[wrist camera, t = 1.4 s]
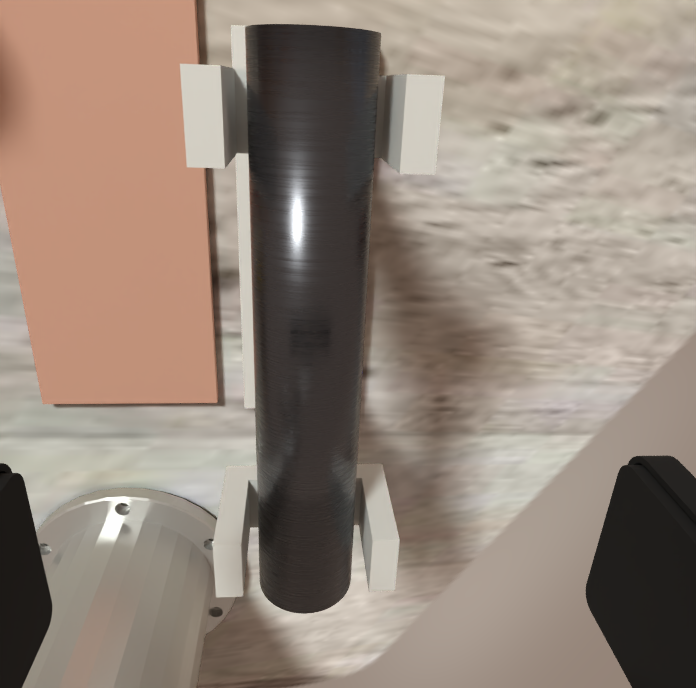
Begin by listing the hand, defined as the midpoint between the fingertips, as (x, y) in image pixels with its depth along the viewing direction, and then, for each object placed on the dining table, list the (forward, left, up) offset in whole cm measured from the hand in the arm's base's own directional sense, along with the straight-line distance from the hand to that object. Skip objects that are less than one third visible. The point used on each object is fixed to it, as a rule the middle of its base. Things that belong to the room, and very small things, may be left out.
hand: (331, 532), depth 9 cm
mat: (+1, +9, -21) cm, 23 cm away
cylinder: (0, 0, -7) cm, 7 cm away
